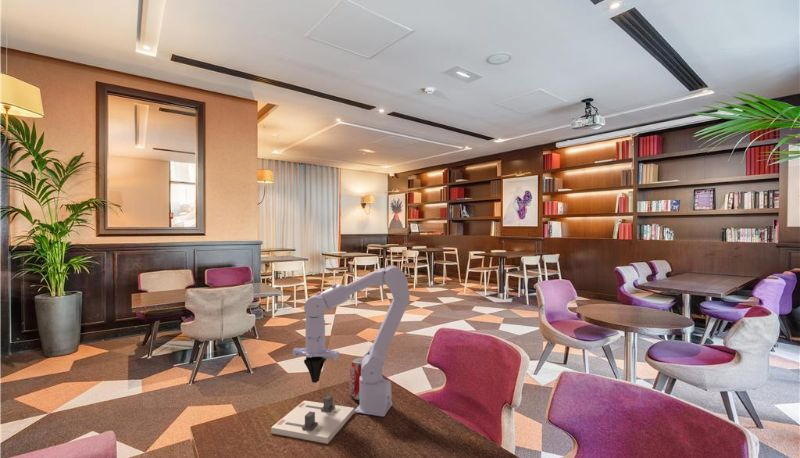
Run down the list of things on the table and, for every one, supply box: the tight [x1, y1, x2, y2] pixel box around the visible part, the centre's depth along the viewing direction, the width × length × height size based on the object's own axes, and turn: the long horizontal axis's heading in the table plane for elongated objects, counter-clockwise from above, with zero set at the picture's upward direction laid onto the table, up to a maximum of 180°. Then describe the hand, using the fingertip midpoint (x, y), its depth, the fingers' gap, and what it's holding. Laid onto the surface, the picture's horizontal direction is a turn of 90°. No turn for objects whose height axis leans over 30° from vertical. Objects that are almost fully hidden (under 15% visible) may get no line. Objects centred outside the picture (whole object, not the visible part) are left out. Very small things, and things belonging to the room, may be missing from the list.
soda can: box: [349, 356, 363, 401], centre depth 115 cm, size 7×7×12 cm
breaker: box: [321, 394, 335, 412], centre depth 103 cm, size 3×3×3 cm
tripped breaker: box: [302, 412, 318, 431], centre depth 94 cm, size 3×3×3 cm
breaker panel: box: [270, 400, 355, 445], centre depth 99 cm, size 17×16×2 cm
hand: (315, 381), depth 105 cm, fingers closed
